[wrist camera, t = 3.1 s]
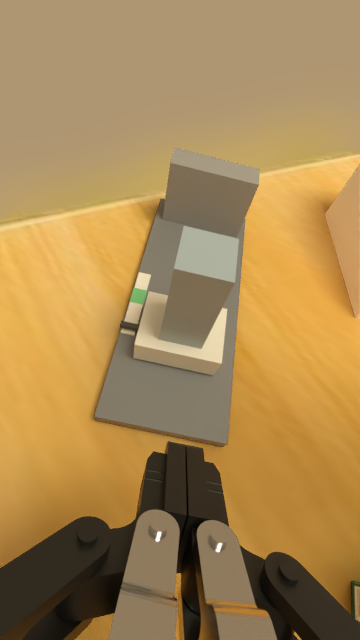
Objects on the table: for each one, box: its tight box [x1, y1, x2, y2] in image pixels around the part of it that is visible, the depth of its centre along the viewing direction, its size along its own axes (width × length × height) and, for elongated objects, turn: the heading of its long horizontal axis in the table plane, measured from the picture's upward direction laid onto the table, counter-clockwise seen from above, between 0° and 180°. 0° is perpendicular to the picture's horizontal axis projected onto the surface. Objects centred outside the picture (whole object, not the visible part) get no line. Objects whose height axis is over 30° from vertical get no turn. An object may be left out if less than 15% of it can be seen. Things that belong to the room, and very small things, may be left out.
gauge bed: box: [94, 148, 260, 447], centre depth 33 cm, size 12×30×10 cm, turn 170°
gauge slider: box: [120, 226, 239, 375], centre depth 29 cm, size 10×14×13 cm
